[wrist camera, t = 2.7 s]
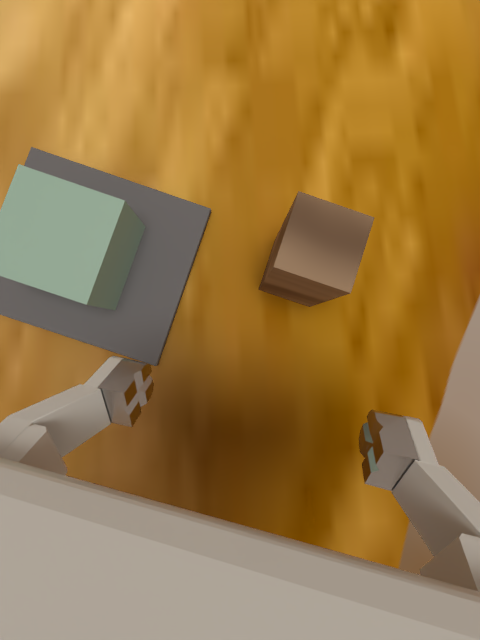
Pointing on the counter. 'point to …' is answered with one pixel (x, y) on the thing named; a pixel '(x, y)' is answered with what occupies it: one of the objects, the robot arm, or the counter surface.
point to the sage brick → (67, 238)
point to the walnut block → (316, 251)
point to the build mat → (144, 276)
